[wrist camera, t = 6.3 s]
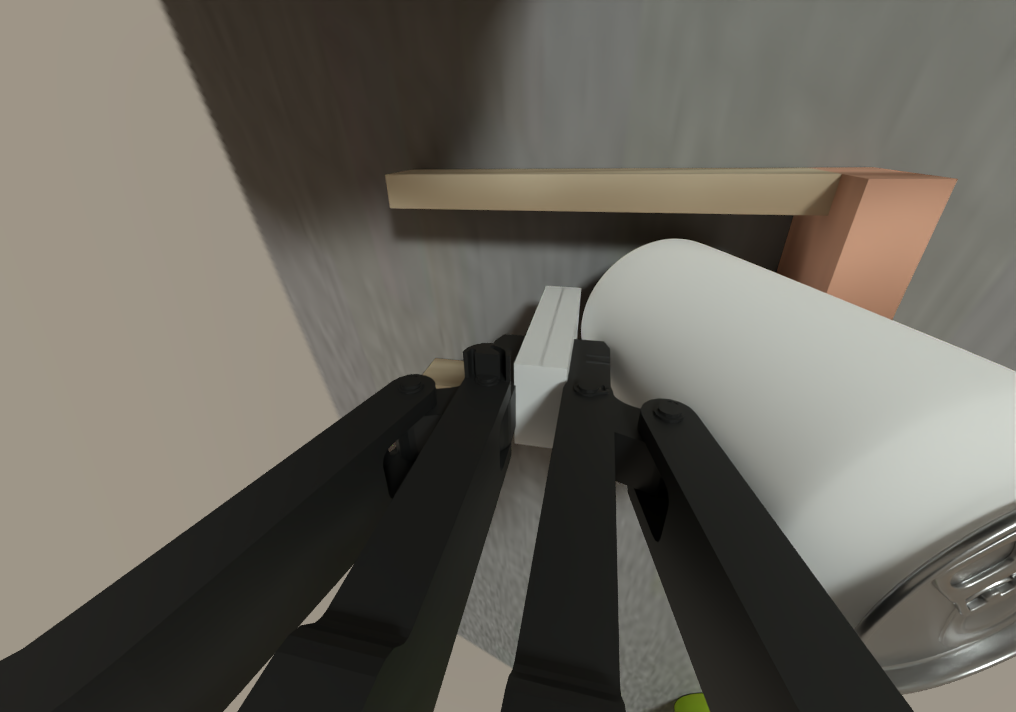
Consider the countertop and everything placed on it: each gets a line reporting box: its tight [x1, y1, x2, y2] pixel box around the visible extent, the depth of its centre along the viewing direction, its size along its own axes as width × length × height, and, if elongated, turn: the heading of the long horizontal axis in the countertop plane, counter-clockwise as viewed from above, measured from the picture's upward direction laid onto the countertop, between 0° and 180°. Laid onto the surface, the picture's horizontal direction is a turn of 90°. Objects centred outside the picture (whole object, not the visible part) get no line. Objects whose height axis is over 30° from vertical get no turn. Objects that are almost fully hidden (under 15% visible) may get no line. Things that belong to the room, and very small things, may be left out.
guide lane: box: [385, 167, 958, 389], centre depth 16 cm, size 10×17×4 cm, turn 91°
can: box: [581, 239, 1016, 695], centre depth 12 cm, size 6×6×12 cm
